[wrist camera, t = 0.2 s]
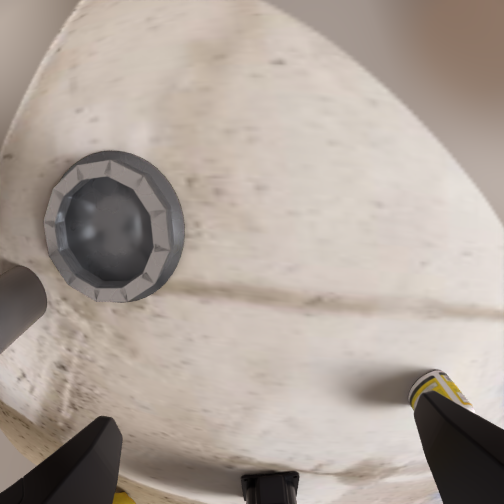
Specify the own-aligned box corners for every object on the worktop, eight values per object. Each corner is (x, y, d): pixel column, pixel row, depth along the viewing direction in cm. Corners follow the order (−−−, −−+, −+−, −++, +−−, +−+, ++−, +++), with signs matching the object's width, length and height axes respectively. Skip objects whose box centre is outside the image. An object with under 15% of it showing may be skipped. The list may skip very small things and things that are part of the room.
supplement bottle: (402, 409, 26) (434, 467, 18) (413, 374, 25) (453, 433, 17) (439, 398, 26) (474, 450, 18) (451, 364, 25) (494, 415, 17)
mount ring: (192, 300, 22) (188, 311, 20) (64, 299, 22) (54, 309, 20) (179, 141, 19) (173, 139, 17) (44, 163, 19) (30, 164, 17)
